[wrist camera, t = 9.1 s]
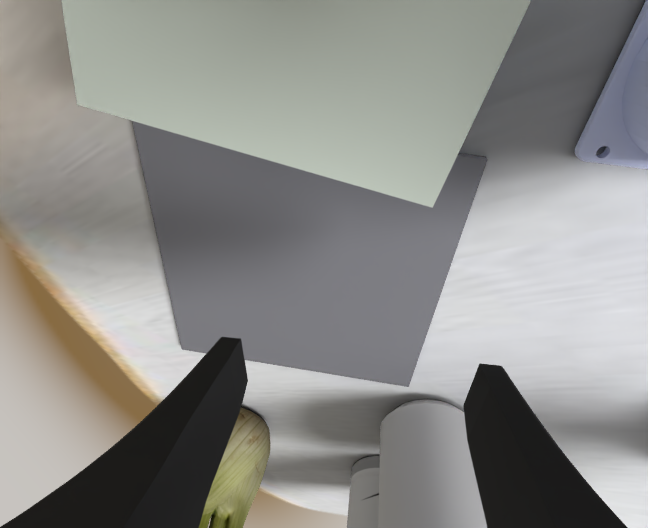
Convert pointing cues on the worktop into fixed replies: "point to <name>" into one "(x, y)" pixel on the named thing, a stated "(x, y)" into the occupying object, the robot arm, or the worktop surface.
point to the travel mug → (364, 494)
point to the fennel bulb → (238, 473)
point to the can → (427, 469)
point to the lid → (301, 78)
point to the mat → (300, 257)
